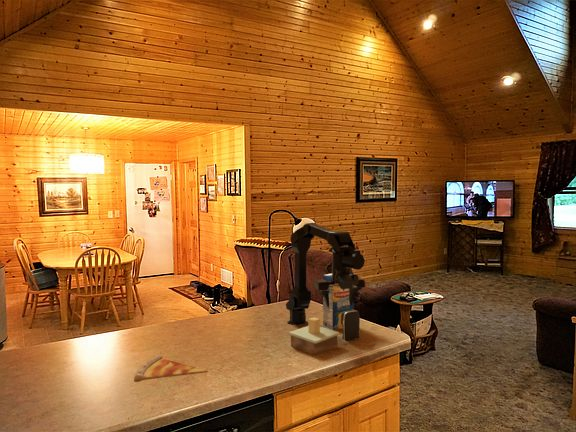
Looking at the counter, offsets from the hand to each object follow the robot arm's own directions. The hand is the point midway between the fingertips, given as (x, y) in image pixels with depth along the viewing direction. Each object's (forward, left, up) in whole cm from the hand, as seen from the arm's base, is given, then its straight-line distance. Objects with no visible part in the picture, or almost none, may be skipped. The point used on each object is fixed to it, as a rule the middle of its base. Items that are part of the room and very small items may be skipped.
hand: (339, 306), depth 165 cm
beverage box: (-12, +14, -14) cm, 23 cm away
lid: (-3, -11, -9) cm, 14 cm away
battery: (+1, +5, -14) cm, 15 cm away
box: (-3, -11, -14) cm, 18 cm away
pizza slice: (-22, -61, -15) cm, 66 cm away
